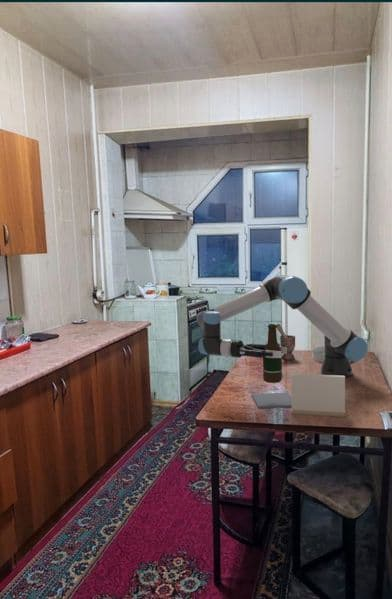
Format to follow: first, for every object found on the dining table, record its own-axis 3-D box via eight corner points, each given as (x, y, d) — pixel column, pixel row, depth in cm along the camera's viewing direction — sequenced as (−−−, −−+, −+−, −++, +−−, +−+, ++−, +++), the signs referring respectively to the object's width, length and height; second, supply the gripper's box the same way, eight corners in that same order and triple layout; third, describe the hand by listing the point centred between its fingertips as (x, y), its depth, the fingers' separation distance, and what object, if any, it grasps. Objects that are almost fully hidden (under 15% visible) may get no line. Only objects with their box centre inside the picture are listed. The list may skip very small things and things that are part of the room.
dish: (349, 354, 271) (350, 346, 270) (355, 364, 249) (355, 355, 249) (311, 354, 275) (311, 346, 275) (313, 363, 254) (313, 354, 253)
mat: (287, 394, 202) (287, 392, 202) (297, 406, 186) (297, 404, 186) (251, 395, 201) (251, 393, 201) (258, 408, 186) (258, 406, 186)
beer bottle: (262, 378, 197) (261, 323, 194) (280, 377, 196) (280, 322, 194) (264, 383, 189) (263, 326, 186) (283, 383, 189) (283, 325, 186)
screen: (344, 411, 179) (344, 374, 178) (345, 416, 174) (345, 378, 172) (292, 408, 184) (291, 372, 183) (291, 413, 179) (291, 376, 177)
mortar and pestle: (274, 359, 264) (273, 325, 262) (276, 356, 272) (276, 323, 270) (294, 360, 260) (294, 326, 258) (296, 357, 268) (296, 323, 266)
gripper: (241, 351, 209) (290, 356, 199) (223, 362, 191) (276, 367, 181) (240, 335, 208) (290, 339, 198) (223, 344, 190) (276, 348, 180)
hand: (283, 352), depth 189 cm, fingers closed on beer bottle, 7 cm apart
